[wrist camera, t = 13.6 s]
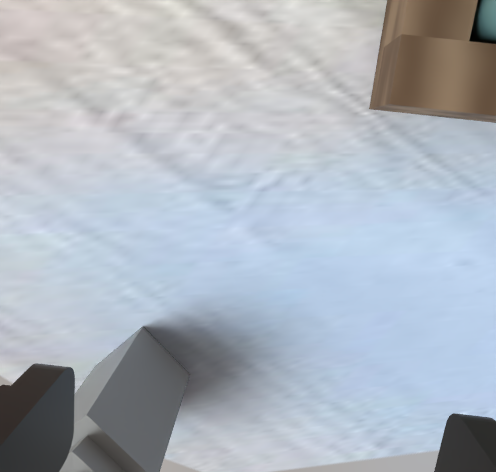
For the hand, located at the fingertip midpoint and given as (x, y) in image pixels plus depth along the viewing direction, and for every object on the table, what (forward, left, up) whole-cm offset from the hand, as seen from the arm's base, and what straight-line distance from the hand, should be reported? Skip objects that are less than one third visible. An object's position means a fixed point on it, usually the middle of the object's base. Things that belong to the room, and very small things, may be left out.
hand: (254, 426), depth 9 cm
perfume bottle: (+10, +18, -30) cm, 37 cm away
